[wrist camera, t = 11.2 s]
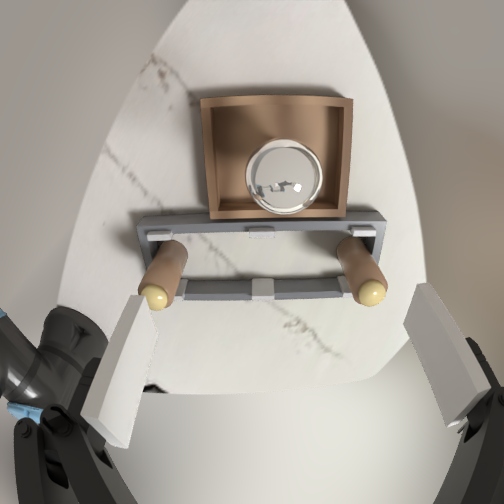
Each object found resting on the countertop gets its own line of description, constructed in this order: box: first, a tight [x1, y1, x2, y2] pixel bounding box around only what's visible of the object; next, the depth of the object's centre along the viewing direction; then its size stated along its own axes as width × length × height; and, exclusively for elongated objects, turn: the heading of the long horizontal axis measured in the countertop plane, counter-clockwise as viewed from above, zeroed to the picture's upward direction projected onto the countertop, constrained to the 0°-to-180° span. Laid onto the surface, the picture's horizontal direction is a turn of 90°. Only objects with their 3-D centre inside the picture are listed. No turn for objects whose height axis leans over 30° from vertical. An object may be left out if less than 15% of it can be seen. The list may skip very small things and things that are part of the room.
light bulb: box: [245, 137, 323, 215], centre depth 28 cm, size 7×7×12 cm
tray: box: [200, 95, 353, 219], centre depth 32 cm, size 16×14×3 cm
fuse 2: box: [336, 236, 388, 307], centre depth 36 cm, size 4×4×10 cm
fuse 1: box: [138, 240, 188, 311], centre depth 37 cm, size 4×4×10 cm
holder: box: [136, 211, 387, 301], centre depth 39 cm, size 31×12×4 cm, turn 92°
